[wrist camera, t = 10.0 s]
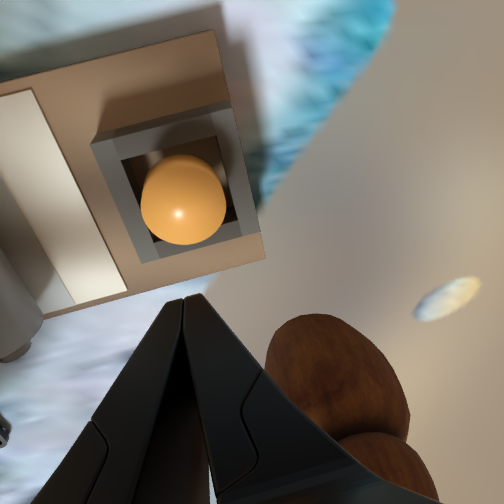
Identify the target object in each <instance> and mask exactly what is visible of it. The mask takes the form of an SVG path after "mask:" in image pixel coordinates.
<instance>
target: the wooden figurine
mask: <svg viewBox="0 0 504 504" xmlns="http://www.w3.org/2000/svg"><path fill="white" fill-rule="evenodd" d="M264 371H265V372H266V373H267V374H268V375H269V376H270V378H271V379H272V380H273V381H274V382H275V384H276V385H277V386H278V387H279V388H280V389H281V390H282V391H283V393H284V394H285V395H286V396H287V397H288V398H289V399H290V400H291V401H292V402H293V403H294V404H295V405H296V406H297V407H298V408H299V409H300V410H301V411H302V412H303V413H305V414H306V415H307V416H308V417H309V418H310V419H311V420H312V421H313V422H315V423H316V424H317V425H318V426H319V427H320V428H321V429H322V430H324V431H325V432H326V433H327V434H328V435H329V436H330V437H331V438H332V439H334V440H335V441H336V442H337V443H338V444H339V445H340V446H341V447H343V448H344V449H345V450H346V451H347V452H348V453H349V454H350V455H352V456H353V457H354V458H355V459H356V460H358V461H359V462H360V463H361V464H362V465H364V466H365V467H366V468H368V469H369V470H370V471H372V472H373V473H375V474H376V475H378V476H379V477H381V478H383V479H385V480H387V481H389V482H391V483H393V484H396V485H398V486H401V487H403V488H406V489H408V490H411V491H413V492H416V493H418V494H421V495H423V496H426V497H428V498H430V499H433V500H435V501H438V502H439V498H438V494H437V491H436V488H435V485H434V482H433V480H432V478H431V476H430V474H429V472H428V470H427V468H426V466H425V464H424V463H423V461H422V460H421V458H420V456H419V455H418V454H417V452H416V451H415V450H413V449H412V448H411V447H410V446H409V445H408V444H406V440H407V435H408V430H409V422H410V412H409V409H408V404H407V401H406V398H405V395H404V392H403V389H402V387H401V384H400V382H399V380H398V378H397V376H396V374H395V372H394V370H393V368H392V367H391V365H390V363H389V362H388V361H387V359H386V357H385V356H384V354H383V353H382V352H381V351H380V350H379V349H378V348H377V347H376V346H375V345H374V344H373V343H372V342H371V341H370V340H369V339H367V338H366V337H365V336H364V335H362V334H361V333H360V332H359V331H357V330H356V329H354V328H353V327H351V326H350V325H349V324H347V323H345V322H344V321H343V320H341V319H339V318H336V317H334V316H331V315H326V314H308V315H301V316H298V317H296V318H293V319H291V320H289V321H287V322H286V323H285V324H284V325H282V326H281V327H280V328H279V329H278V330H277V331H276V332H275V334H274V336H273V338H272V340H271V342H270V344H269V348H268V351H267V356H266V363H265V369H264Z"/></svg>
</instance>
